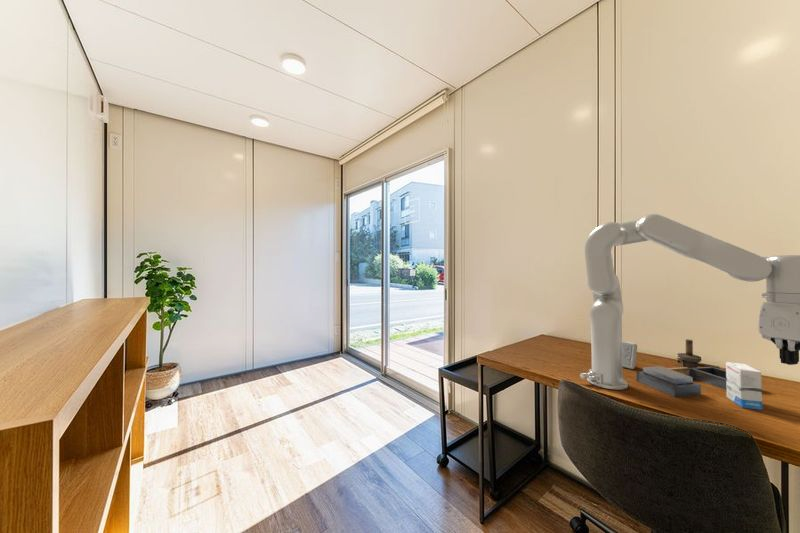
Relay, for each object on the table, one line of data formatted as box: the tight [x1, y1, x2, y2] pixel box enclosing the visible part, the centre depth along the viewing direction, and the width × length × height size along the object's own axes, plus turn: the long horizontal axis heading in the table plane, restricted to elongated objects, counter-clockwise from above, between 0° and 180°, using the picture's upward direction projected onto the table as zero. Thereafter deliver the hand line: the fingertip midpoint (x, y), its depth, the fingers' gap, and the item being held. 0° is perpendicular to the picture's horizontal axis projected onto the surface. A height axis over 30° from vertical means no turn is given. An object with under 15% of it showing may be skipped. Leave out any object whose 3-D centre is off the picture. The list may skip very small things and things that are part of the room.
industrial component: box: [676, 338, 703, 368], centre depth 125 cm, size 9×7×12 cm
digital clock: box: [622, 340, 638, 370], centre depth 132 cm, size 16×9×11 cm, turn 23°
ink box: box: [725, 361, 764, 411], centre depth 95 cm, size 9×5×12 cm, turn 154°
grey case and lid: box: [636, 365, 727, 398], centre depth 108 cm, size 33×14×6 cm, turn 97°
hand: (789, 363), depth 84 cm, fingers closed
